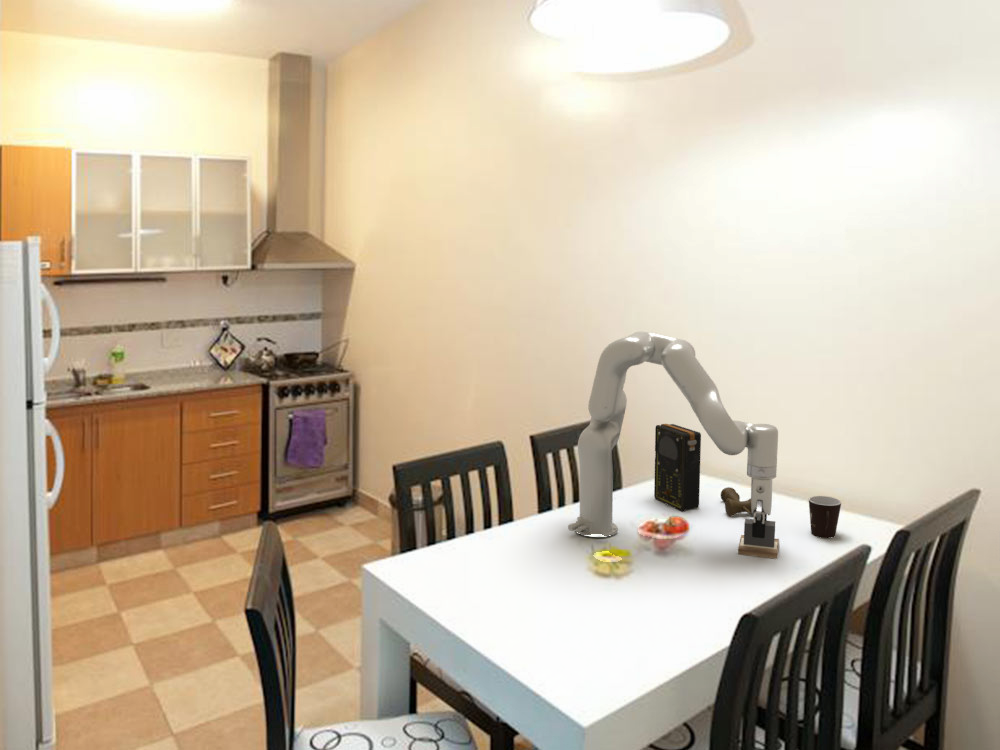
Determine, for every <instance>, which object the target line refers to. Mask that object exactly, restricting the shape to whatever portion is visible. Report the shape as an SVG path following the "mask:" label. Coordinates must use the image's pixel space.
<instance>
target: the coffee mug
mask: <svg viewBox="0 0 1000 750" xmlns="http://www.w3.org/2000/svg"><path fill="white" fill-rule="evenodd" d="M841 506H842V501H841V500H840V499H839V498H836V497H832V496H827V495H812V496H811V497H809V498H808V507H809V523H810V533H811V535H812V536H814V537H817V538H820V537H821V538H822V539H832V538H831V537H833V538H835V537H836V534H837V528H838V523H839V522H838V521H839V518H840V511H841ZM834 536H835V537H834ZM821 538H820V539H821Z"/></svg>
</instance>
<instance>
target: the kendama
mask: <svg viewBox="0 0 1000 750" xmlns="http://www.w3.org/2000/svg"><path fill="white" fill-rule="evenodd" d="M720 498H721V501H722V502H724V508H725V512H726V513H725V514H726V515H727V517H730V518H731V517H733V516H734V515H737V514H739V513H747V514H751V515H753V516H754V514H753V513H752V510H751V497H750V498H749V499H747V500H742V501H740V498H741V497H740V494H739V492H737V491H736V490H735V489H734V488H733V487H729V486H728V487H724V488H723V489H722V490H721V491H720Z"/></svg>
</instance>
